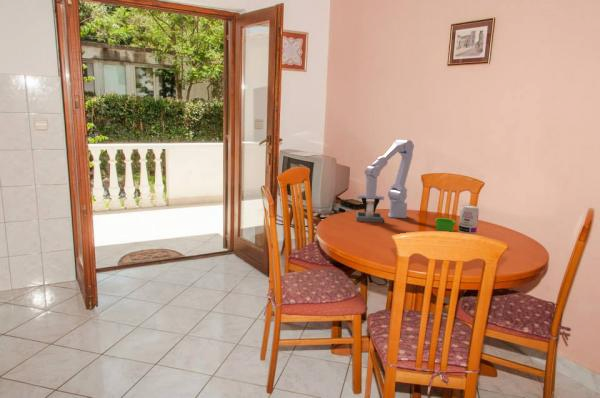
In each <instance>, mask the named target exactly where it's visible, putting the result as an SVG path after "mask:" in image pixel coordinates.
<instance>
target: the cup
mask: <svg viewBox="0 0 600 398" xmlns="http://www.w3.org/2000/svg"><path fill="white" fill-rule="evenodd" d="M434 221H435V232H436V231H449V232H452V233H453V230H454V228H455V225H456V224H455V223H456V220H454V219H451V218H444V217H437V218H435V219H434Z"/></svg>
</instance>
